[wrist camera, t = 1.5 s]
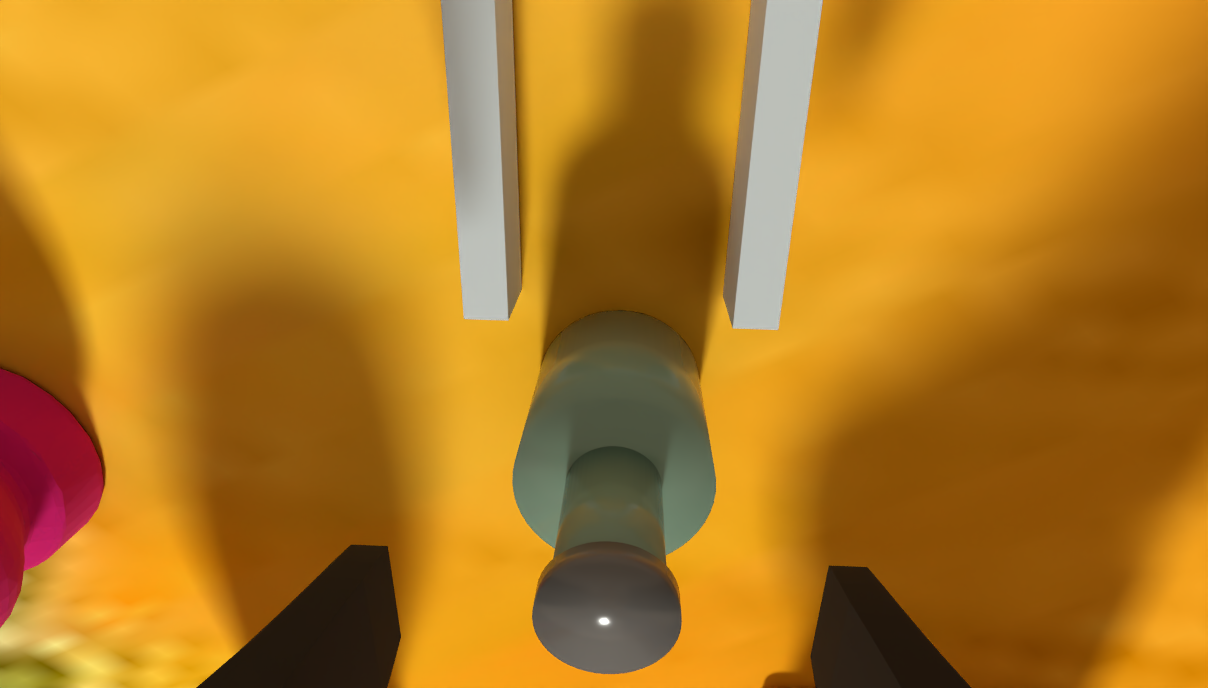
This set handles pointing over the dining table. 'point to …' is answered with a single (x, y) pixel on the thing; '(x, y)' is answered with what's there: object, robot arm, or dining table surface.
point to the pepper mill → (40, 481)
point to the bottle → (613, 487)
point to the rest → (761, 172)
